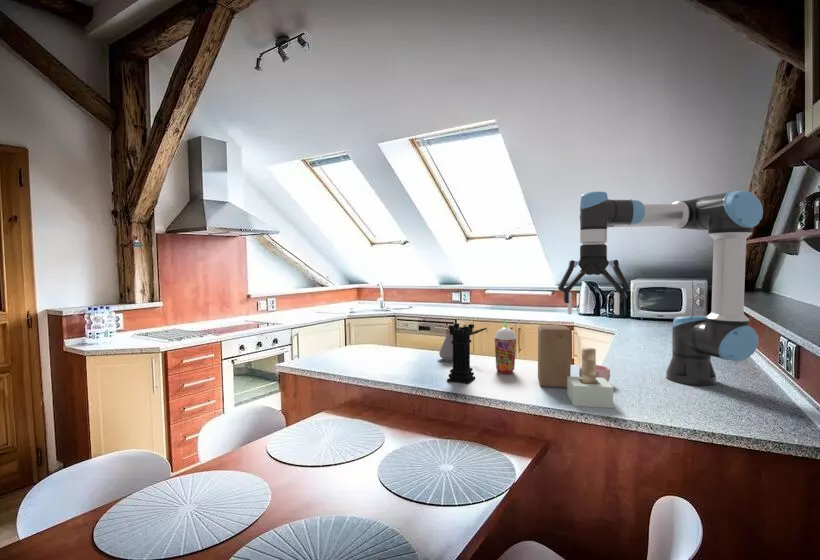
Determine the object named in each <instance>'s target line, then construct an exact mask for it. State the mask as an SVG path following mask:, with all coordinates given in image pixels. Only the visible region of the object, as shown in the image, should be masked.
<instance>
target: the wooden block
mask: <svg viewBox="0 0 820 560" xmlns="http://www.w3.org/2000/svg"><path fill="white" fill-rule="evenodd" d="M537 330H538V331H537V379H538V382H539V385H540V386H541V387H542V386H543V387H546V388H560V387H563V389H564V388H565V389H567V376H571V372H572V371H571V366H572V365H571V364H572V363H571V362H572V361H571V360H572V359H571V358H572V357H571V354H572V352H571V351H572V350H571V349H572V332H571V329H570V328H569V327H568V326H566V325H556V324H555V325H550V324H548V325H546V324H541V325H538V328H537Z"/></svg>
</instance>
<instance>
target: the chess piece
mask: <svg viewBox="0 0 820 560" xmlns="http://www.w3.org/2000/svg"><path fill="white" fill-rule="evenodd" d="M474 328H475V324H473V323H469V324H468V325H464V326H460V323H458V322H457V323H456V322H455V323H453V325H452V324H451V325H448V330H450V335H453V341H451V344H453V362H452V369H450V370H449V374H448V378H447V379H446V382H448V383H455V384H464V385H469V384H471V383H472V382H474V380H476V376H474V375H475V372H472V371H473V370H474V369H473V367H471V362H470V361H471V360H470V359H471V352H470V351H471V349H470V348H471V345H470V344H471V343H472V339H470V338H471V335H470V334H472V333H473V332H474V330H473V329H474Z"/></svg>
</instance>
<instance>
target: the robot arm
mask: <svg viewBox="0 0 820 560" xmlns="http://www.w3.org/2000/svg"><path fill="white" fill-rule="evenodd" d="M579 212H580V213H579V221H580V222H579V223H580V224H579V225H580V231H579V232H580V234H579V235H580V237H579V240H580V241H579V243H580V244H581V245H580V246H579V259H578V260H573V259H571V260H568V266H567V269H566V271H565V273H564V275H563V277H562V278H561V281H560V283H559V284H558V286H557V290H558V291H560V292H563V302H564V304H567V315H572V314H573V313H572V310H573V307H572V305H573V303H572V301H573V300H572V299H573V294H572V292H571V290H572V289H573V288H574V287H575V285H577V284H578V283H579V281H580V280H581V279H582V278H583V277H584V276H585V275H588V276H592V275H595V276H600V275H602V276H603V277H604V278H605V279H606V281H607V282H608V283H609V284H610V286H612V287H613V288H614V289H615V291H616V292H615V291H614V292H613V310H614V311H613V314H614V315H615V316H619V315H620V304H623V302H624V293H625V292H627V291H630V290H631V287H630V286H629V283H628V282H627V279H626V278H625V276H624V274H623V272H622V270H621V268H620V264H619V260H617V259H612V260H608V245H607V244H606V243H607V242H608V228H629V227H630V228H635V227H638V228H639V227H671V228H673V229H675V230H678V229H684V230H698V231H708V232H707V233H708V236H709V237H710V238H711V239H712V240H713V248H712V249H713V253H712V256H713V257H712V282H711V283H712V284H711V311H710V313H709V314H707V315H690V316H685V315H684V316H676V317H675V318H673V323H672V327H671V328H672V333H671V334H672V335H671V336H672V342H671V344H672V345H671V348H672V351H671V353H672V356H671V359H670V361H669V364H668V366H667V369H666V371H665V372H666V373H665V375H666V379H668V380H669V381H672V382H675V383H678V384H679V383H680V384H684V385H692V386H713V385H716V383H717V375H716V373H715V370H714V366H713V364H712V360H711V359H712V358H711V357H715V358H718V359H721V360H724V361H732V362H743V361H746V360H748V359H749V358H751V356H752V355H754V354H755V352H756V350H757V348H758V345H759V334H758V333H757V332H756V330H755V328H753V327H751V326H750V319H749V317H747V316H746V315H745V313H744V311H745V310H744V309H745V285H746V284H745V280H746V257H747V256H746V255H747V254H746V252H747V249H746V248H747V239H748V238H749V237H750V236H752V235H753V230H754V229H753V228H754V227H756V226H757V225H759V224H760V221H762V219H763V214H764V208H763V204H762V203H761V200H760V199H759V198H758V197H757V196H756V194H754V193H752V192H750V191H747V190H738V191H737V190H736V191H735V190H734V191H729V192H722V193H719V194H718V193H717V194H712V195H707V196H701V197H697V198H693V199H688V200H676V201H674V202H672V203H660V204H658V203H652V204H651V203H649V204H648V203H647V204H643V202H642V201H641V200H636V199H609V198H608V193H607V192H606V191H590V192H585V193H583V194H581V197H580V205H579ZM577 266H579V268H580V271H579V272H577V274H576V275H575V276H574V278H572V279H571V280H570V282H569V283H568V281H569V279H570V276H571V275H572V273H573V271H574V269H576V268H577ZM609 266H610V268H612V269H613V270H612V271H613V272H614V274H615V275H616V277H617V279H618V281H619V283H620V285H619V283H618V282H617V281H616V280H615V279H614V278H613V276H612V275H611V274H610V273H609V272H608V270H607V267H609ZM567 283H568V284H567ZM566 284H567V285H566Z"/></svg>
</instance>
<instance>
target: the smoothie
mask: <svg viewBox="0 0 820 560" xmlns="http://www.w3.org/2000/svg"><path fill="white" fill-rule="evenodd" d="M516 349H517V336H516V334H515V332H514V331H513V330H512V329H511V328H509V327H507V320H504V327H502V328H500V329H498V330H497V331H496V333H495V335H494V350H495V351H494V352H495V366H496V367H495V368H496V371H497V372H498V373H499V374H503V375H510V374H513V373H514V370H515V366H516V365H515V363H516V351H517V350H516Z"/></svg>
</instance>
